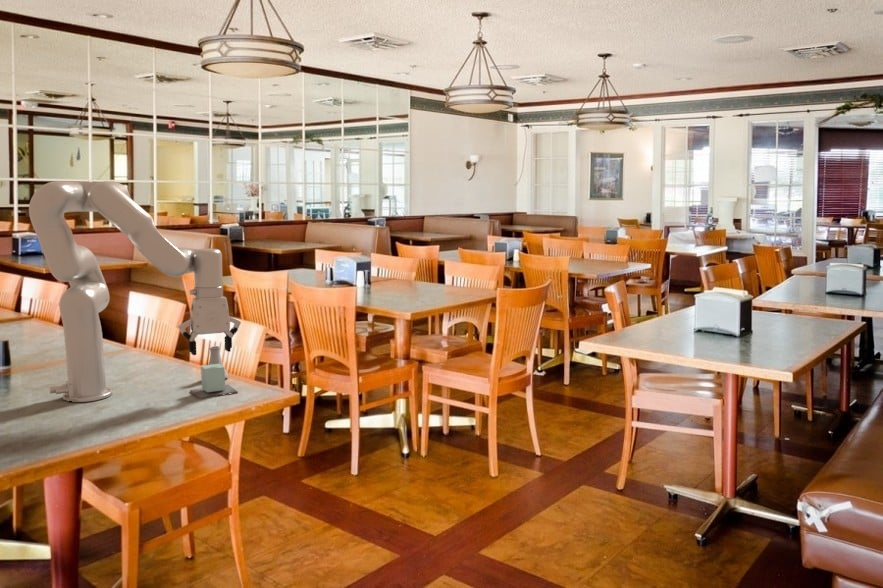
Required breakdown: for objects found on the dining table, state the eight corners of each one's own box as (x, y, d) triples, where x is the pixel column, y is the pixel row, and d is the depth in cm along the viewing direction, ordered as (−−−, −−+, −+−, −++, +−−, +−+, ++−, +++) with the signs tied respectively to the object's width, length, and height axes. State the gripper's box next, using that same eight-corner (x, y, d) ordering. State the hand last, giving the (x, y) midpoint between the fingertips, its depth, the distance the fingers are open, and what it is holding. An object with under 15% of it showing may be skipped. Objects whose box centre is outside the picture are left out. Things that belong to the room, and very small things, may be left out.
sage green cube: (206, 392, 214) (205, 369, 213) (201, 388, 218) (200, 365, 217) (225, 389, 216) (224, 367, 215) (220, 385, 221) (219, 363, 220)
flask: (221, 382, 228) (219, 350, 227) (199, 381, 230) (197, 349, 228) (232, 376, 235) (231, 345, 234) (211, 375, 237) (209, 344, 235)
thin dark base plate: (198, 399, 211) (197, 374, 210) (190, 391, 218) (188, 367, 217) (237, 393, 217) (236, 369, 216) (228, 386, 224) (227, 363, 223)
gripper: (180, 296, 206) (183, 358, 208) (243, 292, 215) (245, 351, 217) (174, 293, 212) (176, 353, 214) (235, 289, 221) (236, 347, 223)
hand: (210, 352), depth 216 cm, fingers open, 9 cm apart
